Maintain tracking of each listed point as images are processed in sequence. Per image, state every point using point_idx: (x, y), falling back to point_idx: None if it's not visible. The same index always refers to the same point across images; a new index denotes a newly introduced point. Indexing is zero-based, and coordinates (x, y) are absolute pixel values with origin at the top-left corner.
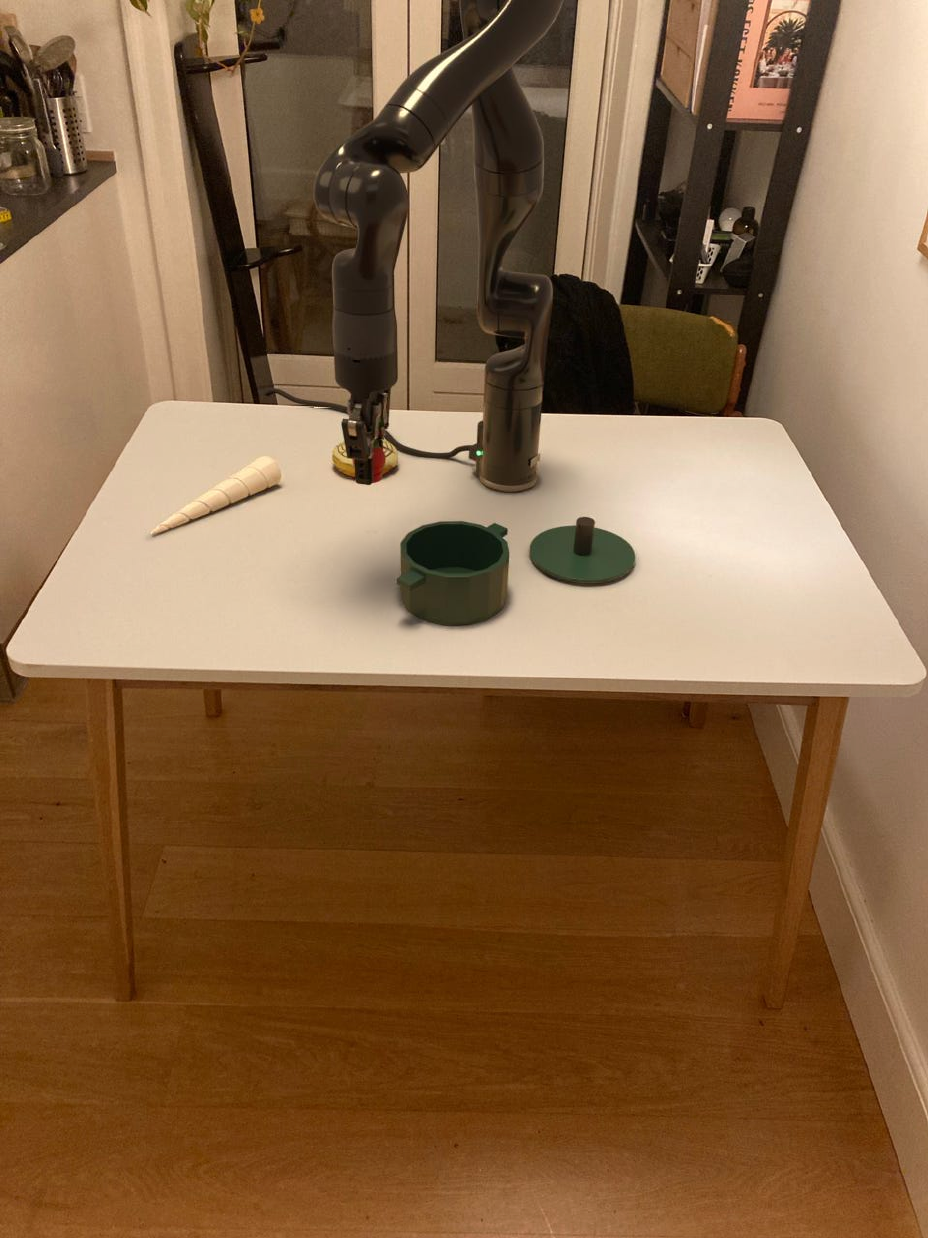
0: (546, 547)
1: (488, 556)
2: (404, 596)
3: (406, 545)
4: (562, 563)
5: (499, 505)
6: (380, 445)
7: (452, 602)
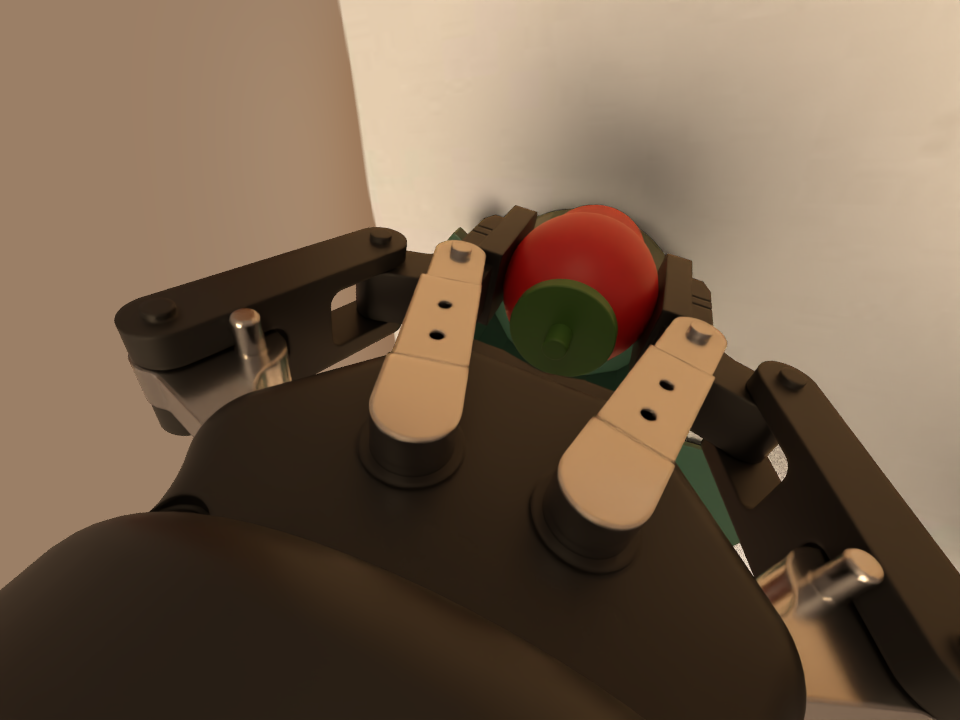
0: (690, 468)
1: None
2: (537, 221)
3: None
4: None
5: (939, 450)
6: (631, 363)
7: None
